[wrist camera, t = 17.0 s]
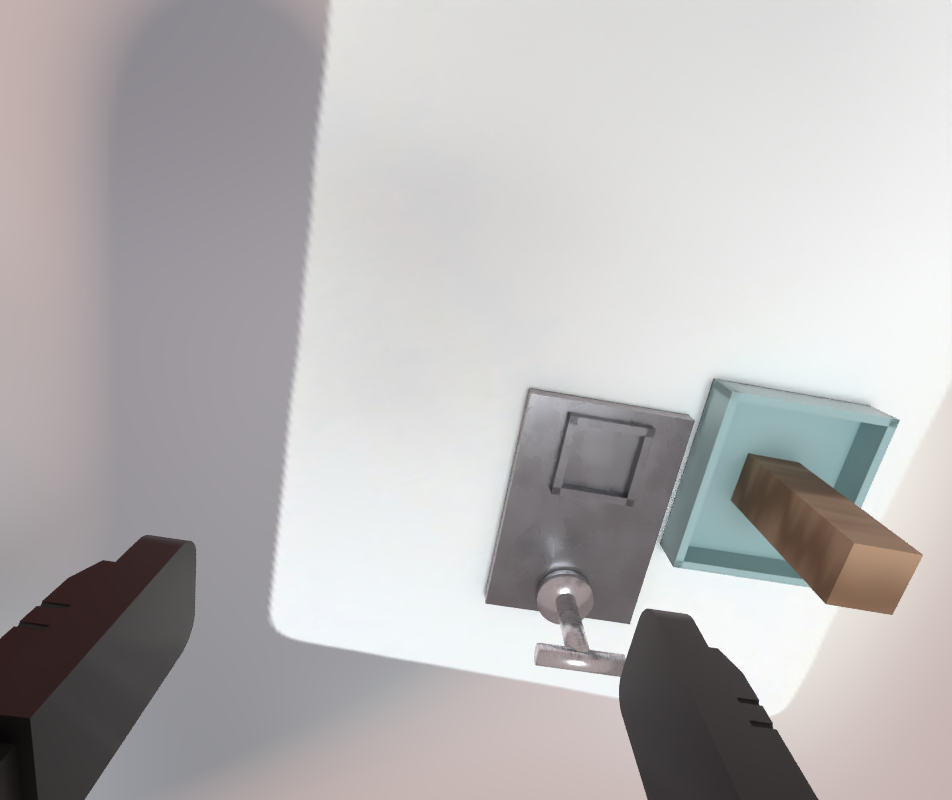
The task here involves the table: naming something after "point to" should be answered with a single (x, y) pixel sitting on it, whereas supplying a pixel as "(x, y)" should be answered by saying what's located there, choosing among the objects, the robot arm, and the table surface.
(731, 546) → the tray
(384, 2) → the table surface
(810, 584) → the tall brown wooden block
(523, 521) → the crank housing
